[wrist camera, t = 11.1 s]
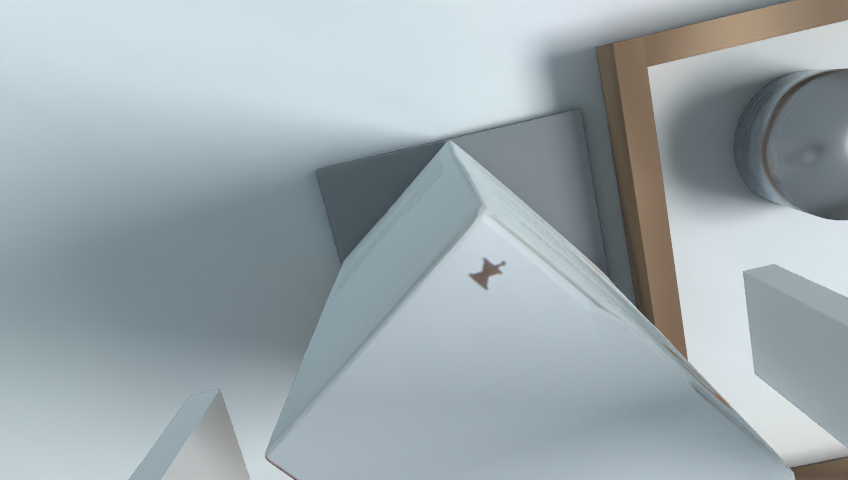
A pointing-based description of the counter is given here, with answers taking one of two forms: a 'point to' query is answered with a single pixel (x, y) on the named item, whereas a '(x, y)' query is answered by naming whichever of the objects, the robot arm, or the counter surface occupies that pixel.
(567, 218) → the mat
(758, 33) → the frame
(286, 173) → the counter surface
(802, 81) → the tin
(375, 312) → the small box
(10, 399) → the counter surface
